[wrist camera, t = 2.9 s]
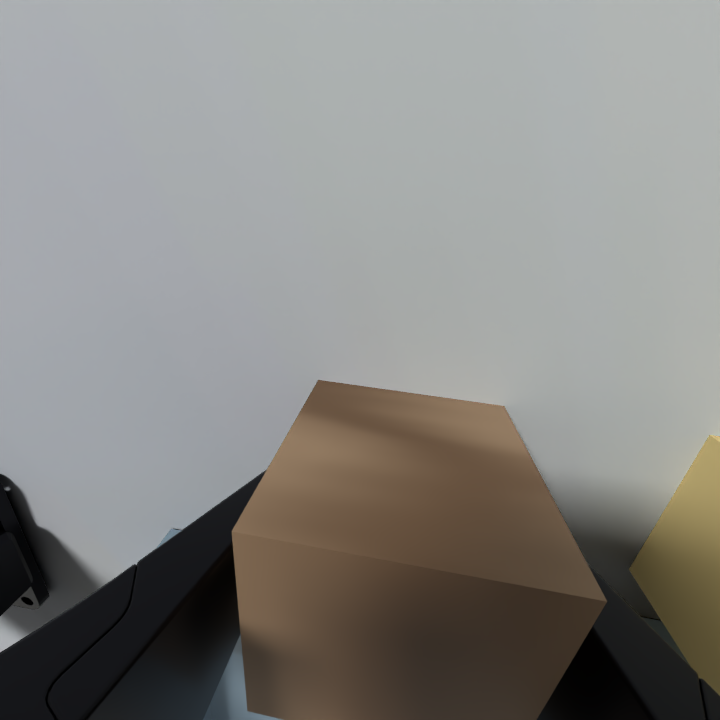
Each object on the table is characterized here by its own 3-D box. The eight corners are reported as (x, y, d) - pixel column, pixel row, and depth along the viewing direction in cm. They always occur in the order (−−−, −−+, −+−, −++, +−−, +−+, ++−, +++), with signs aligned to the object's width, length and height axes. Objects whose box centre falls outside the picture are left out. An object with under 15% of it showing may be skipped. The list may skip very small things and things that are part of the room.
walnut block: (313, 511, 10) (247, 710, 6) (319, 378, 8) (231, 531, 4) (463, 538, 10) (505, 772, 6) (503, 404, 8) (606, 601, 4)
